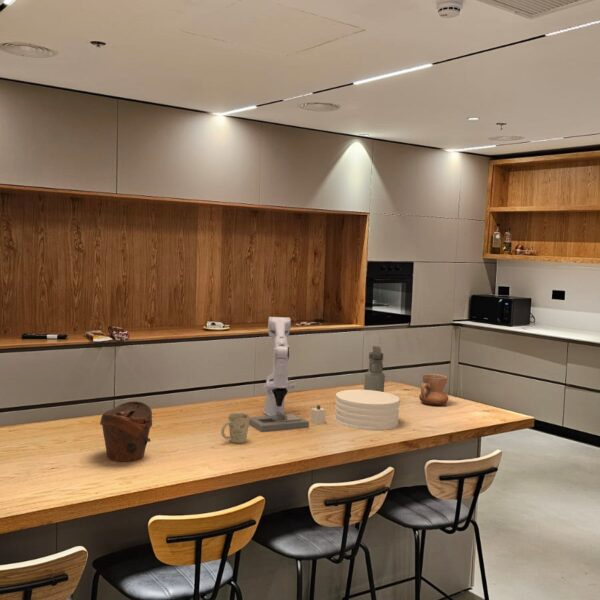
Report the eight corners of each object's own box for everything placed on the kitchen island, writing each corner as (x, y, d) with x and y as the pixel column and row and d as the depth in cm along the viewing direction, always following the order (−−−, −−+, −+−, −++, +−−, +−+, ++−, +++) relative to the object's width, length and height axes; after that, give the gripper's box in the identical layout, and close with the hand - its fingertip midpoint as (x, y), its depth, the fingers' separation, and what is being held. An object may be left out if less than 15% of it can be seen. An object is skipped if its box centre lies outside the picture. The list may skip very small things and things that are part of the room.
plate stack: (360, 433, 293) (361, 406, 292) (322, 417, 317) (323, 392, 316) (411, 426, 308) (412, 401, 307) (371, 411, 332) (372, 387, 331)
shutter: (275, 416, 302) (276, 411, 301) (292, 415, 305) (292, 410, 305) (284, 421, 295) (284, 416, 294) (301, 420, 299) (301, 415, 298)
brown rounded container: (102, 467, 234) (105, 414, 233) (94, 449, 252) (97, 400, 251) (156, 463, 241) (159, 412, 240) (144, 447, 259) (147, 399, 258)
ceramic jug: (434, 399, 366) (435, 372, 365) (455, 404, 354) (457, 376, 353) (409, 402, 355) (410, 375, 354) (430, 409, 344) (432, 380, 342)
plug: (310, 421, 307) (311, 405, 306) (320, 421, 309) (321, 404, 309) (315, 424, 303) (316, 407, 303) (325, 423, 306) (326, 406, 305)
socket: (247, 423, 299) (247, 417, 298) (292, 419, 309) (293, 413, 309) (261, 432, 287) (261, 426, 286) (308, 427, 297) (308, 421, 297)
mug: (253, 441, 273) (254, 416, 272) (228, 447, 264) (230, 421, 263) (238, 436, 278) (240, 411, 277) (214, 442, 269) (215, 416, 268)
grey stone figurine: (384, 406, 343) (387, 349, 340) (363, 405, 343) (367, 348, 341) (381, 401, 353) (385, 346, 351) (362, 400, 353) (365, 345, 351)
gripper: (269, 376, 289) (267, 409, 290) (300, 375, 296) (298, 406, 297) (261, 373, 295) (260, 405, 296) (292, 372, 302) (290, 403, 303)
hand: (278, 405), depth 297 cm, fingers closed
